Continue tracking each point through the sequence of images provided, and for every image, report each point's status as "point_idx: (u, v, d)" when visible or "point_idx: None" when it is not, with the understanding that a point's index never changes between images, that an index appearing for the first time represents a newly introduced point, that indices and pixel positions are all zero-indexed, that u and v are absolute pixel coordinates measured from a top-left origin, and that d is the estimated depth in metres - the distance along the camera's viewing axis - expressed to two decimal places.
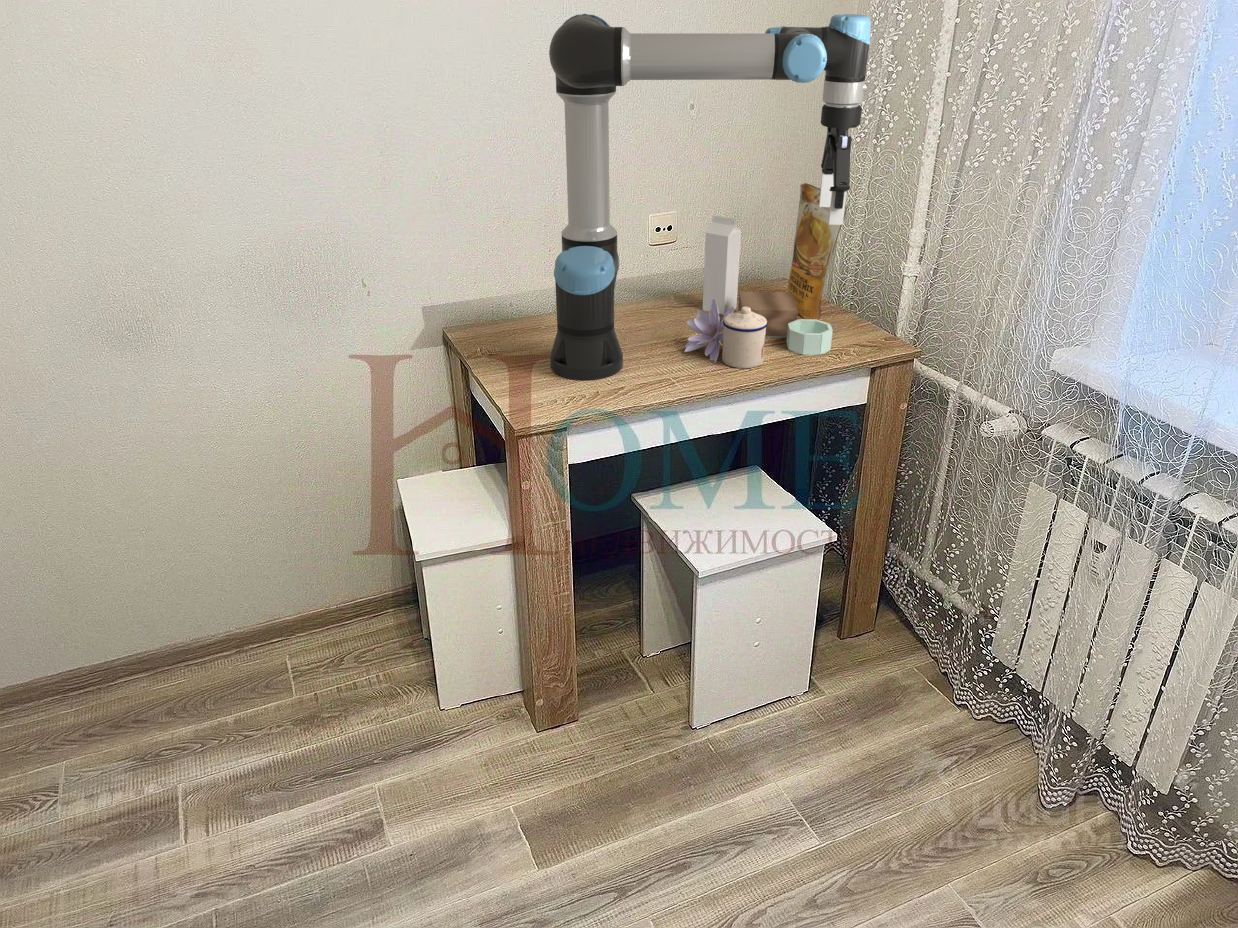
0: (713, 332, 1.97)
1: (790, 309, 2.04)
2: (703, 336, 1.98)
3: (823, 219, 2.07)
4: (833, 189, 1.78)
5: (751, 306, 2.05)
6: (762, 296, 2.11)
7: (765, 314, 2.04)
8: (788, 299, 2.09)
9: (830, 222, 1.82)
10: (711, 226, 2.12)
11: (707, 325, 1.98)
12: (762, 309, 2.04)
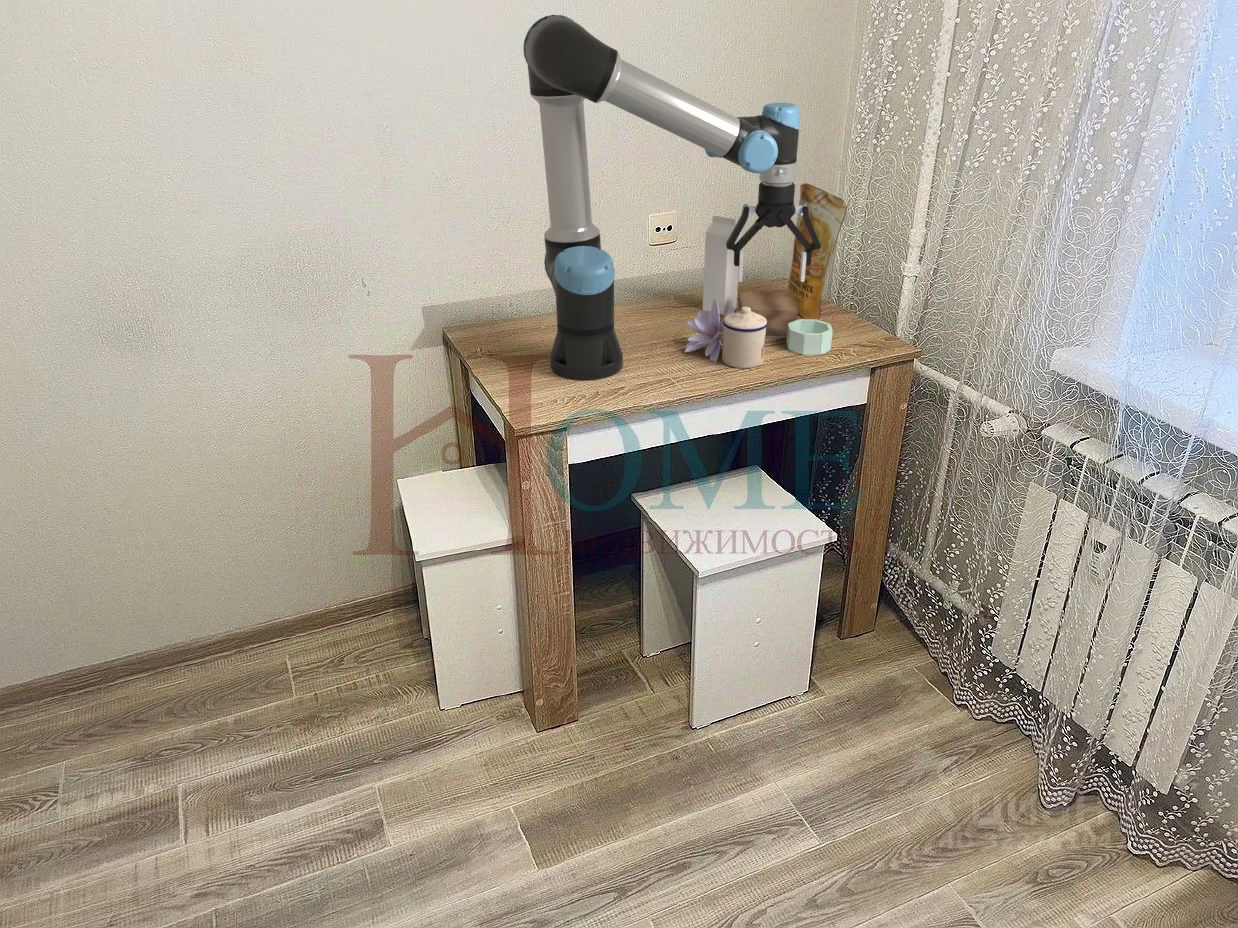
0: (713, 332, 1.97)
1: (790, 309, 2.04)
2: (703, 336, 1.98)
3: (823, 219, 2.07)
4: None
5: (751, 306, 2.05)
6: (762, 296, 2.11)
7: (765, 314, 2.04)
8: (788, 299, 2.09)
9: None
10: (711, 226, 2.12)
11: (708, 325, 1.98)
12: (762, 309, 2.04)
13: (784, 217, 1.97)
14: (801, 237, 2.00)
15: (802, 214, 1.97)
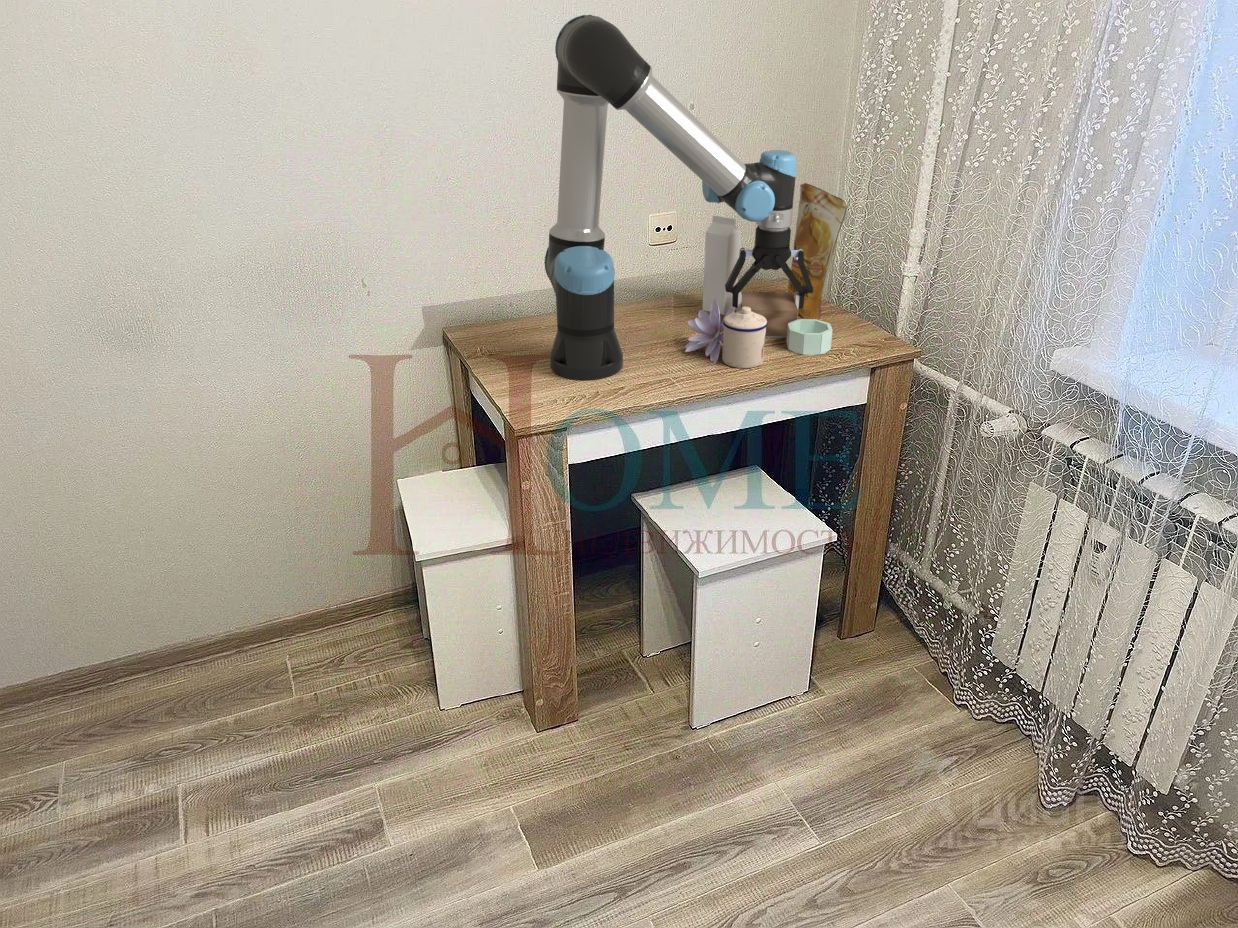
0: (714, 332, 1.97)
1: (790, 309, 2.04)
2: (704, 336, 1.98)
3: (823, 219, 2.07)
4: None
5: (751, 306, 2.05)
6: (762, 296, 2.11)
7: (765, 314, 2.04)
8: (788, 299, 2.09)
9: None
10: (711, 226, 2.12)
11: (708, 325, 1.98)
12: (762, 309, 2.04)
13: (780, 260, 2.02)
14: (795, 281, 2.05)
15: (797, 258, 2.02)
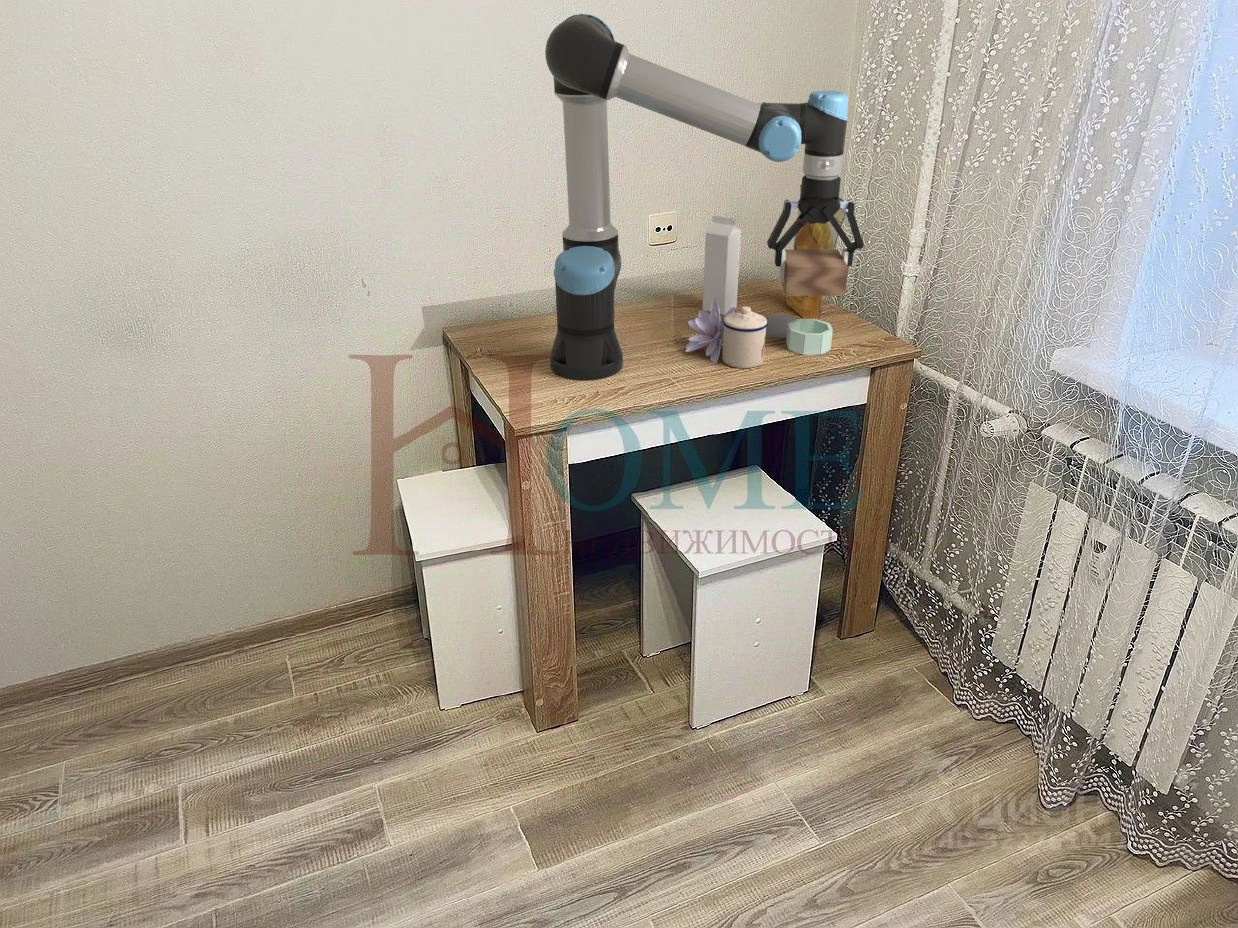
0: (714, 332, 1.97)
1: (839, 265, 1.87)
2: (704, 336, 1.98)
3: None
4: None
5: (796, 263, 1.89)
6: (806, 253, 1.95)
7: (813, 271, 1.87)
8: (836, 256, 1.93)
9: (778, 277, 1.95)
10: (711, 226, 2.12)
11: (708, 325, 1.98)
12: (809, 266, 1.87)
13: (828, 213, 1.85)
14: (844, 235, 1.88)
15: (847, 210, 1.86)
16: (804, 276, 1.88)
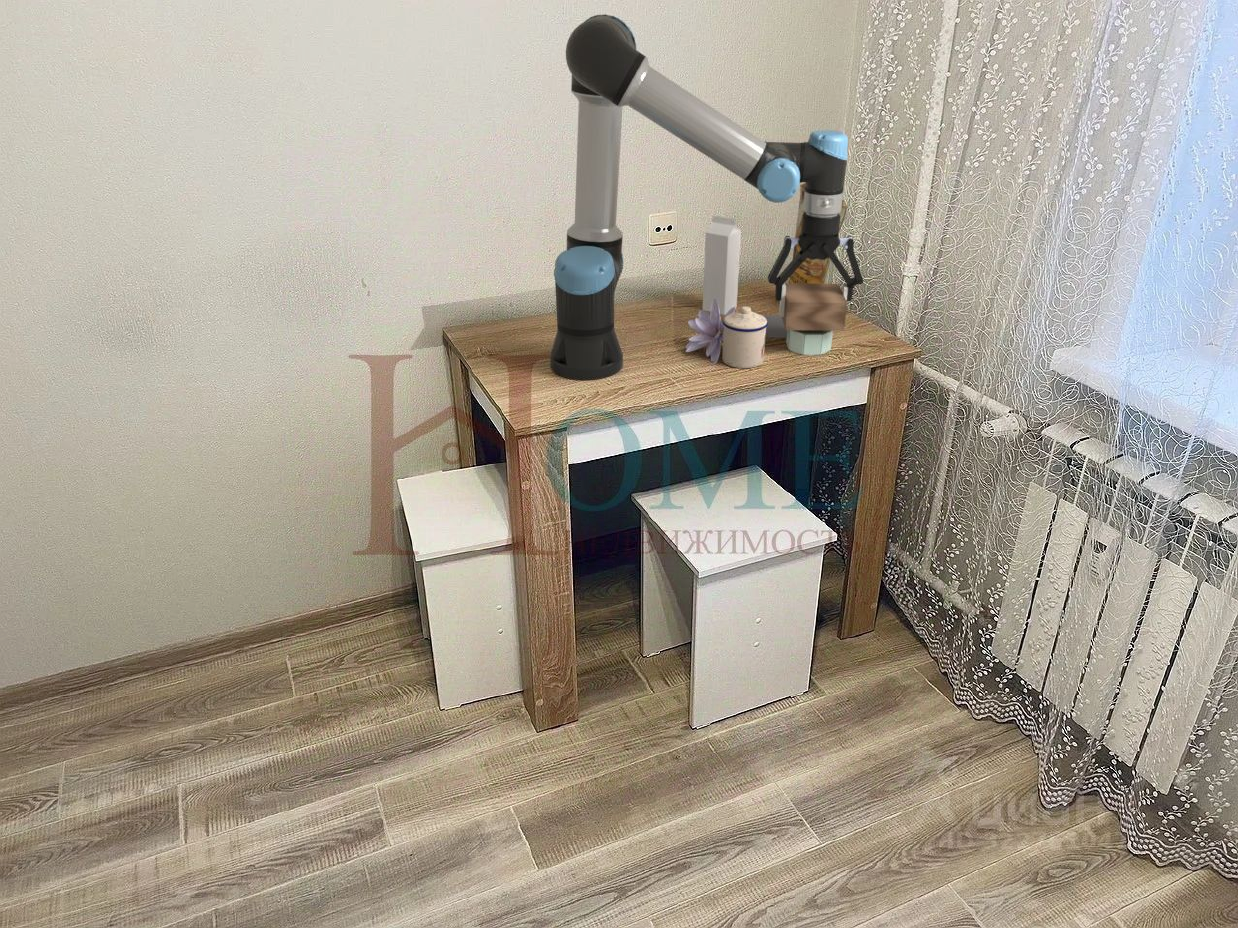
0: (714, 332, 1.97)
1: (838, 301, 1.90)
2: (704, 336, 1.98)
3: None
4: None
5: (796, 298, 1.91)
6: (807, 288, 1.97)
7: (812, 307, 1.90)
8: (836, 291, 1.95)
9: None
10: (711, 226, 2.12)
11: (708, 325, 1.98)
12: (808, 302, 1.90)
13: (828, 249, 1.88)
14: (843, 271, 1.91)
15: (847, 247, 1.88)
16: (804, 311, 1.90)
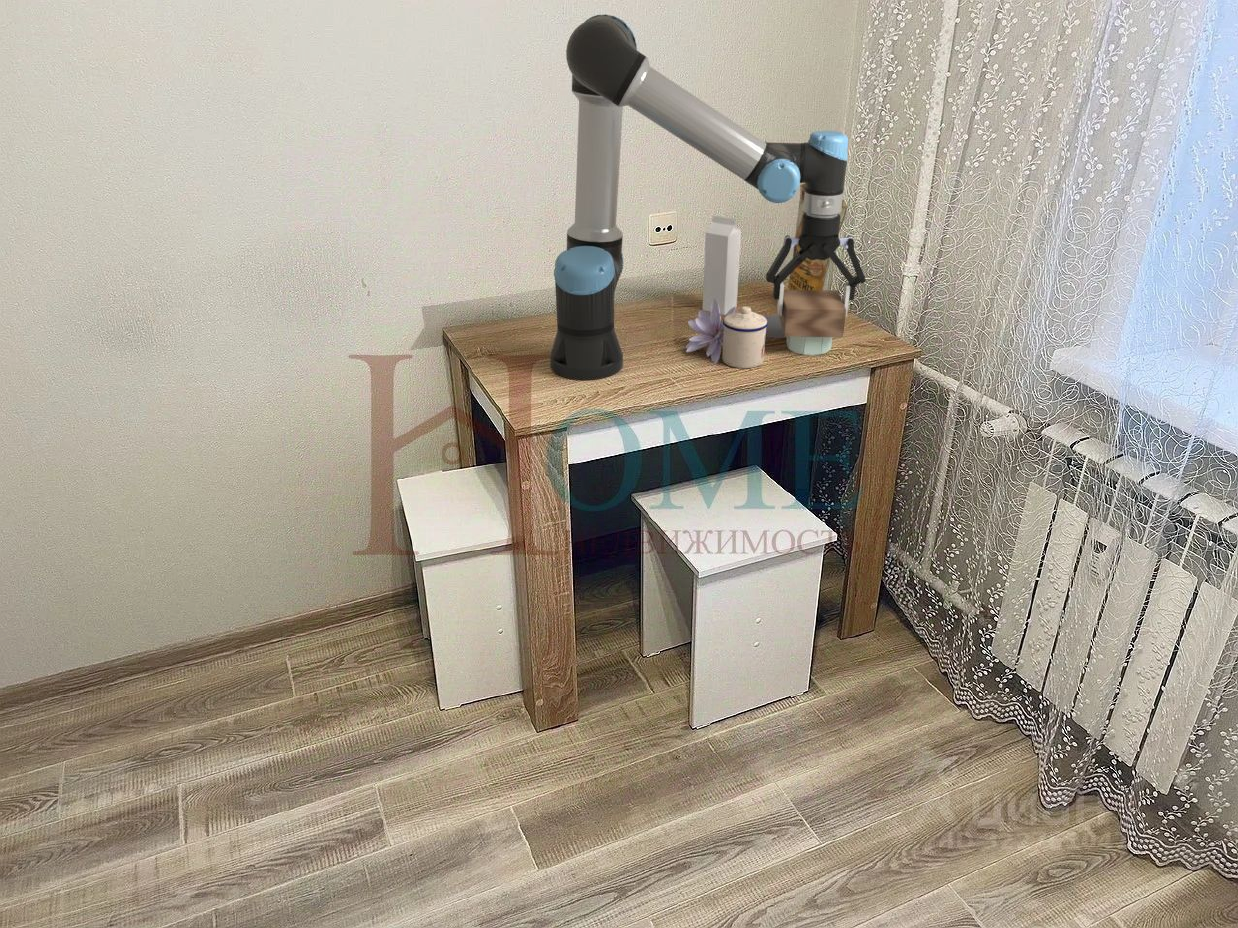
0: (714, 332, 1.97)
1: (838, 308, 1.91)
2: (704, 336, 1.98)
3: None
4: None
5: (795, 305, 1.92)
6: (806, 294, 1.98)
7: (811, 313, 1.91)
8: (834, 298, 1.96)
9: (777, 309, 1.98)
10: (711, 226, 2.12)
11: (708, 325, 1.98)
12: (808, 308, 1.91)
13: (828, 250, 1.88)
14: (845, 270, 1.91)
15: (847, 247, 1.88)
16: (803, 318, 1.91)
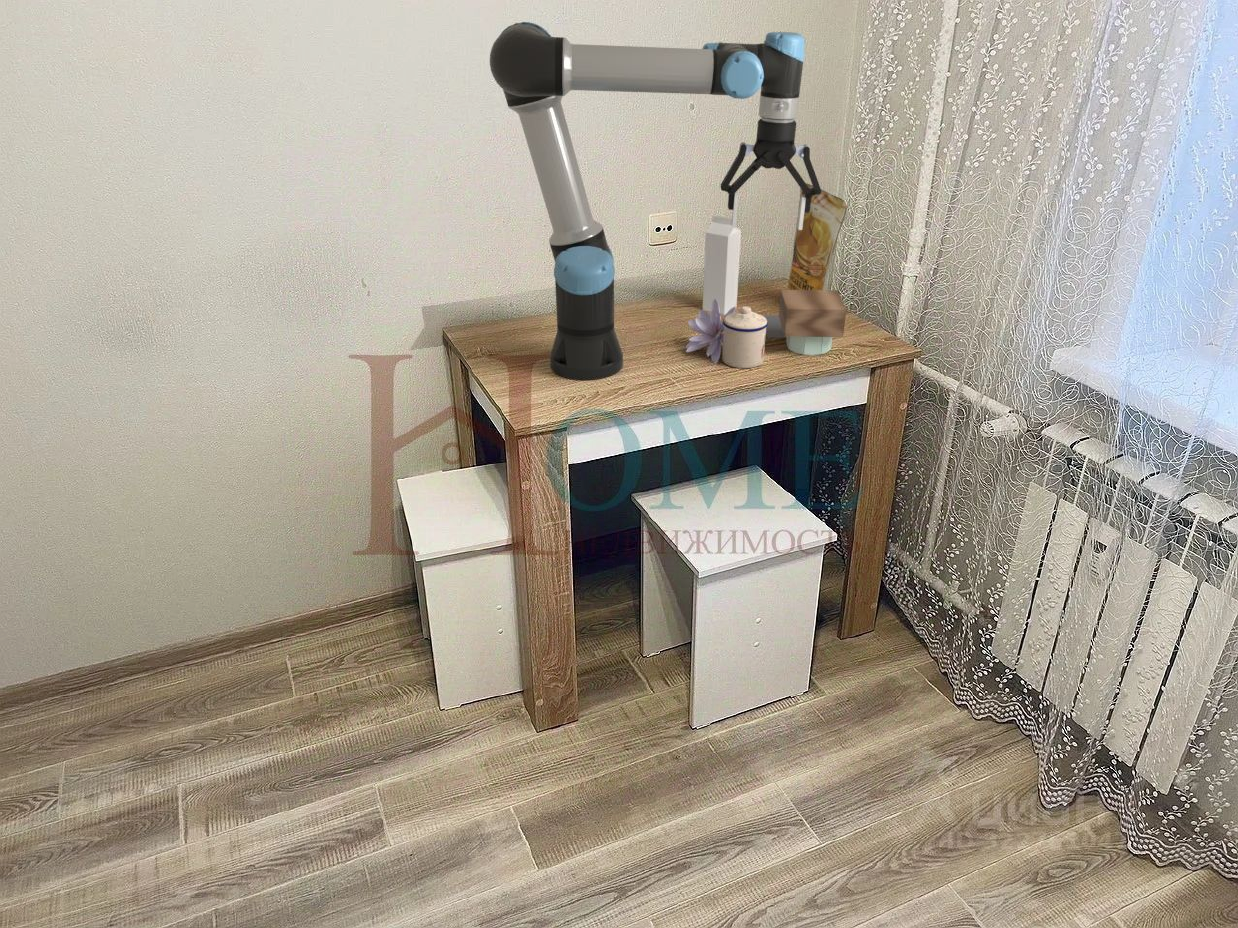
0: (714, 332, 1.97)
1: (838, 308, 1.91)
2: (704, 336, 1.98)
3: (823, 219, 2.07)
4: None
5: (796, 305, 1.92)
6: (806, 294, 1.98)
7: (811, 313, 1.91)
8: (834, 298, 1.96)
9: None
10: (711, 226, 2.12)
11: (708, 325, 1.98)
12: (808, 308, 1.91)
13: (783, 157, 1.84)
14: (801, 181, 1.87)
15: (803, 155, 1.85)
16: (803, 318, 1.91)
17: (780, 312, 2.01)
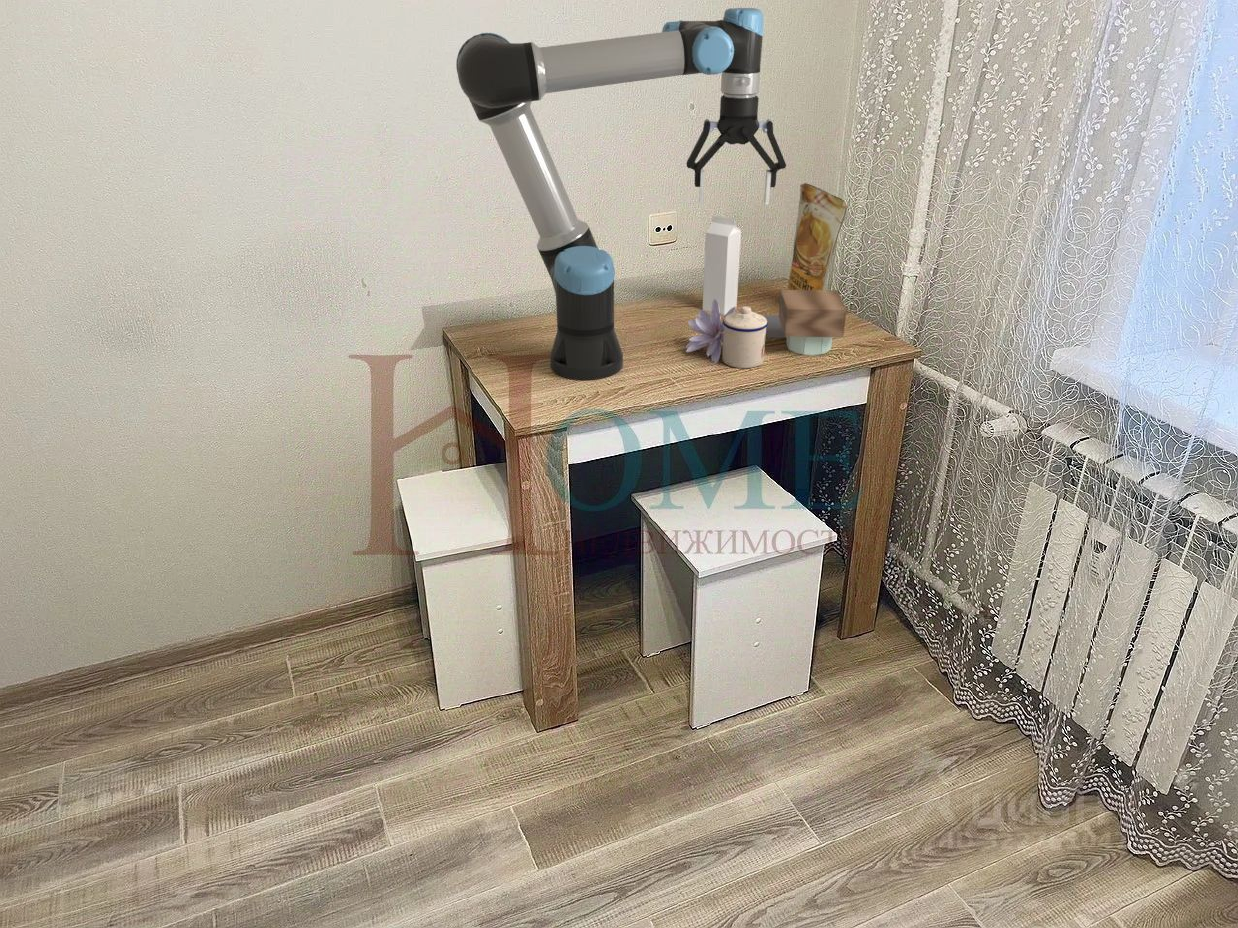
0: (714, 332, 1.97)
1: (838, 308, 1.91)
2: (704, 336, 1.98)
3: (823, 219, 2.07)
4: None
5: (796, 305, 1.92)
6: (806, 294, 1.98)
7: (812, 313, 1.91)
8: (835, 298, 1.96)
9: (699, 199, 1.96)
10: (711, 226, 2.12)
11: (708, 325, 1.98)
12: (808, 308, 1.91)
13: (747, 133, 1.86)
14: (765, 155, 1.89)
15: (766, 130, 1.86)
16: (803, 318, 1.91)
17: (780, 312, 2.01)
